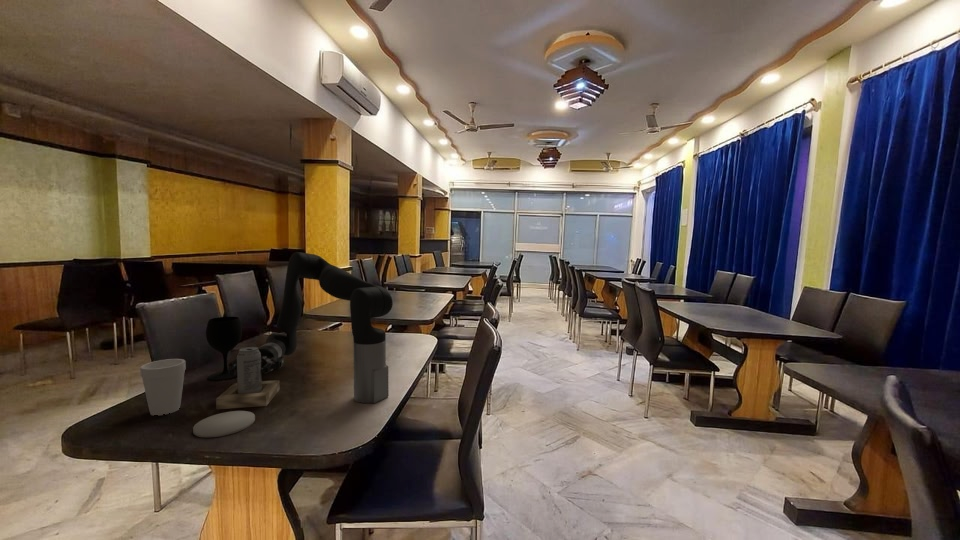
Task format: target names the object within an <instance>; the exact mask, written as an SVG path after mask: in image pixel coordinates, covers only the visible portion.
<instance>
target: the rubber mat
mask: <svg viewBox="0 0 960 540" xmlns="http://www.w3.org/2000/svg"><path fill="white" fill-rule="evenodd" d="M255 421H256V415H255V414H254V412H251V411H246V410H234V411H233V410H232V411H226V412H221V413H217V414H213V415H211V416H208V417H206V418H203V419H201V420H199V421H198V422H196V424H194V426H193V428H192V433H193V435H194V436H196V437H198V438H206V439H208V438H211V439H212V438H218V437H219V438H220V437H224V436H225V437H226V436H229V435H232V434H235V433H239V432H241V431H243V430H246V429H247V428H249V427H251V426H252V425H253V424H254V422H255Z"/></svg>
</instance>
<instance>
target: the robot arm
mask: <svg viewBox="0 0 960 540" xmlns="http://www.w3.org/2000/svg"><path fill="white" fill-rule="evenodd" d="M299 279H307V280H308V279H309V280H314V281H315V280H316V281H318V284H319V286H320V288H321V290H322V291H323V292H325V293H327V294H329V295H330V296H331V297H333V298H334V299H335V298H336V299H339V300H343V301H344V300H345V301H348V302H349V309H350V310H349V311H350V312H349V313H350V326H351V332H352V336H353V399H354V401H355V402H358V403H360V402H361V403H362V404H369V403H370V404H376V403H379V402H380V401H383V400H384V399H386V398H388V397H389V365H387V364H386V363H387V362H386V360H387V359H386V358H387V357H386V355H387V353H386V336H387V335H386V334H387V333H386V331H385V330H384V329H382V328H379V327H378V328H377V327H374V326H373V325H372V319H375V318H376V319H377V318H380V317H383V316H386V315H388V314H389V313H390V312H391V310H392V308H393V305H394V302H393V297H392V296H391V293H390V292H389V291H388V290H387V289H386V288H385V287H383V286H381V285H377V284H375V283H371V282H368V281H365V280H363V279H362V278H360V277H357V276H356V275H354V274H352V273H350V272H348V271H347V270H344V269H343V268H340V267H338V266H336V265H333V264H331V263H329V262H328V261H327V260H326V259H324V258H323V257H321V256H319V255H317V254H314V253H308V252H301V251H300V252H299V251H296V252H293V253H292V254H291V256H290V258H289V259H288V263H287V269H286V274H285V281H284V290H283V297H282V304H281V306H280V312H279V313H278V314H279V315H278V318H277V321H276V328H277V329H279V331H281V332H283V333H285V334H282V333H279V332H272V333H270V334H269V335H268V336H267V337H266V339H265V340H266V341H265V343H264V344H262V345H261V346H259V347H258V350H259V351H260V353H261V372H262V375H266V374H267V373H270V372H272V371H273V370H274V369H275V371H276V370H277V371H279V370H281V368H282V367H283V366H284V356H291V355H293V354H294V352H295V350H296V349H297V343H298V340H297V339H298V337H297V334H298V332H297V331H298V325H299V323H300V319H301V315H302V311H303V307H302V303H301V300H300V297H299V294H298V290H297V286H298V285H297V284H298V280H299ZM227 368H228V372H230V374H231V376H234V375H236V374H237V358H236V359H234V360H232V361H230V362H229V363H227Z"/></svg>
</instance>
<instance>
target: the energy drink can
mask: <svg viewBox="0 0 960 540" xmlns="http://www.w3.org/2000/svg"><path fill="white" fill-rule="evenodd" d="M258 348H259V347H257V346H248V347H247V346H245V347H241V348H240V349H238V354H237V355H236V359H237V378H236V379H237V383H238V394H248V393H260V392H261V391H262V384H261V381H262V371H261V353H260V351H259V350H258Z"/></svg>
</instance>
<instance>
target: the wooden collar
mask: <svg viewBox="0 0 960 540" xmlns="http://www.w3.org/2000/svg"><path fill="white" fill-rule="evenodd" d="M261 384H262V391H261V392H260V393H248V394H238V382H234V383H233V384H232V385H230V386H229V387H228V388H227V389H226V390H225V391H223V392H222V393H221V394H219V395H218V397H216V399H215V402H216V403H215V405H216V410H226V409H240V408H253V407H256V408H257V407H267V406H268V404H269V403H270V402H271V401H272V400H273V398H274V397H275V396H276V395H277V393H278V392H279V391H280V390H281V389H280V387H281V385H280V380H275V379H274V380H261Z"/></svg>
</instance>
